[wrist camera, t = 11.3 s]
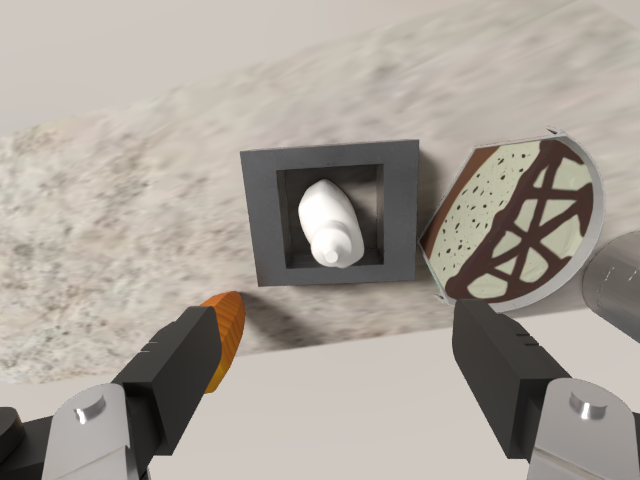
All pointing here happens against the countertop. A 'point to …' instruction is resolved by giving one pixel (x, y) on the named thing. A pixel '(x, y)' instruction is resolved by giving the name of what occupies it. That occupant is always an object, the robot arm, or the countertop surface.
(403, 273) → the grey square frame
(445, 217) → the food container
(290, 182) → the countertop surface
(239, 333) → the carrot
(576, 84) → the countertop surface
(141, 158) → the countertop surface
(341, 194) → the eye dropper bottle
